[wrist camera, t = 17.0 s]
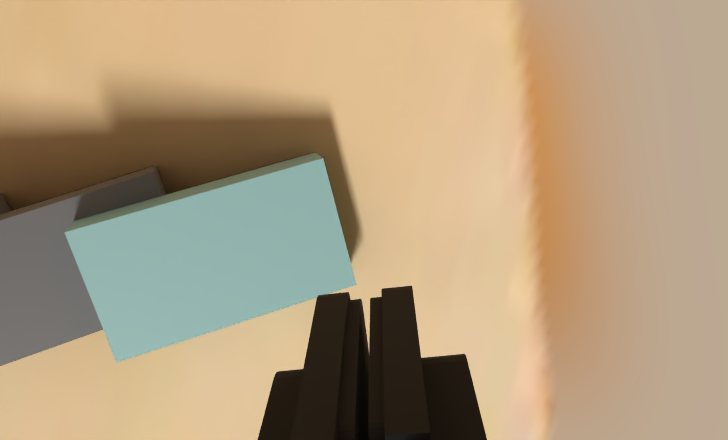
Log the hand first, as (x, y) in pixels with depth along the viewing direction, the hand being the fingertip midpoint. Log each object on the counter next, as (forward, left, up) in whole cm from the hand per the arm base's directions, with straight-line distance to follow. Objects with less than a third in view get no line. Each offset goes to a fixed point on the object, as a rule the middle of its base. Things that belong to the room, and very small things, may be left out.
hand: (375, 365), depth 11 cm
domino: (+1, -8, -13) cm, 15 cm away
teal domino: (+1, -2, -13) cm, 13 cm away
